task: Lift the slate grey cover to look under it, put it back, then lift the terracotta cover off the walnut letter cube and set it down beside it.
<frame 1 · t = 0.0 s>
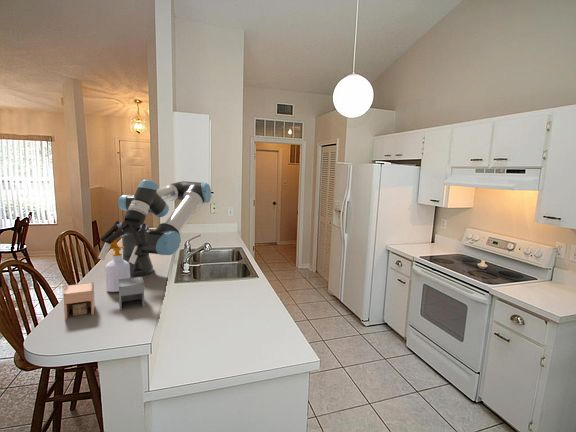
hand: (116, 261, 119), 15 cm above the table, tool tilted 35°, fingers open, 13 cm apart
soap bottle: (118, 289, 130), on the table, touching hand
terracotta cover: (80, 312, 109), on the table
letter cube: (80, 307, 109), in the terracotta cover
slate cover: (131, 304, 117), on the table
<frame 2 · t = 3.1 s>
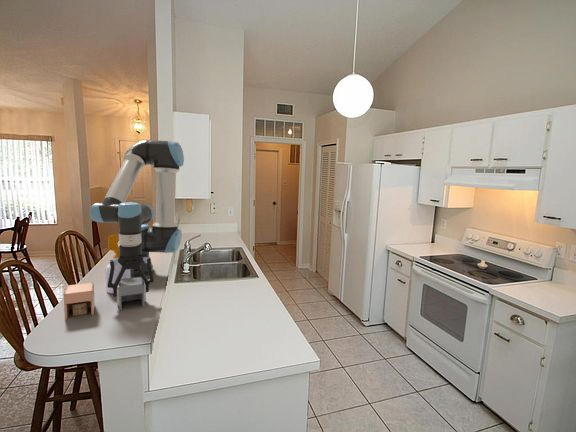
hand: (131, 302, 117), 1 cm above the table, tool pointing down, fingers closed on slate cover, 8 cm apart
soap bottle: (118, 290, 130), on the table
slate cover: (131, 304, 117), on the table, touching gripper
everything else where it was.
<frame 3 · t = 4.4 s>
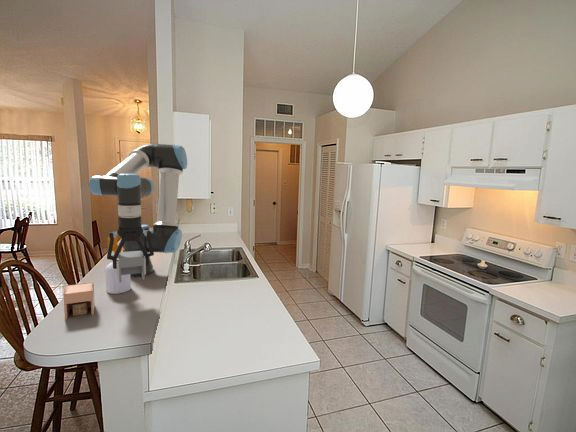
hand: (131, 275, 116), 11 cm above the table, tool pointing down, fingers closed on slate cover, 8 cm apart
slate cover: (131, 277, 116), point 11 cm above the table, touching gripper
everything else where it was.
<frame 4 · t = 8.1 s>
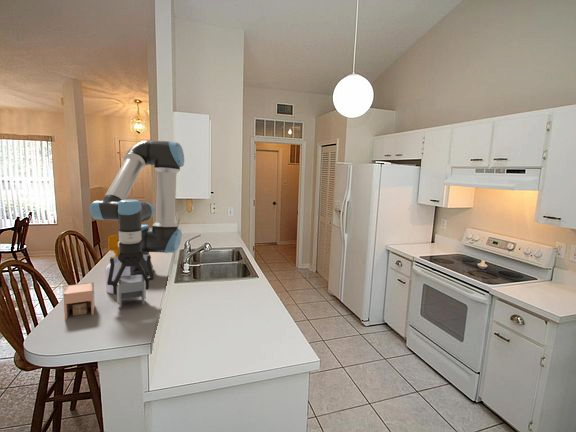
hand: (131, 299, 117), 2 cm above the table, tool pointing down, fingers closed on slate cover, 8 cm apart
slate cover: (131, 301, 117), point 1 cm above the table, touching gripper
everything else where it was.
when the fingers open (2 cm above the table, at t = 8.5 s): slate cover stays where it is, on the table.
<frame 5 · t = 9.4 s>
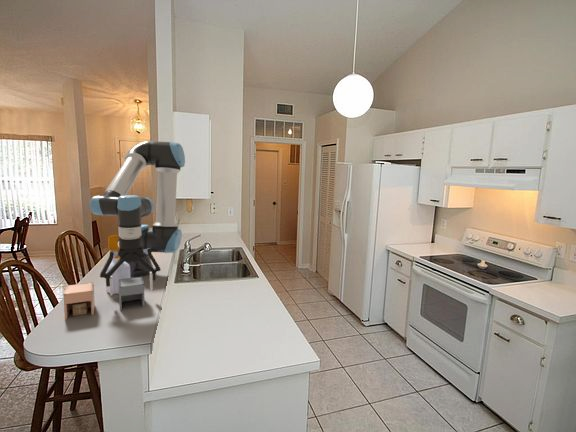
hand: (131, 291, 117), 5 cm above the table, tool pointing down, fingers open, 13 cm apart
slate cover: (131, 304, 117), on the table
everything else where it was.
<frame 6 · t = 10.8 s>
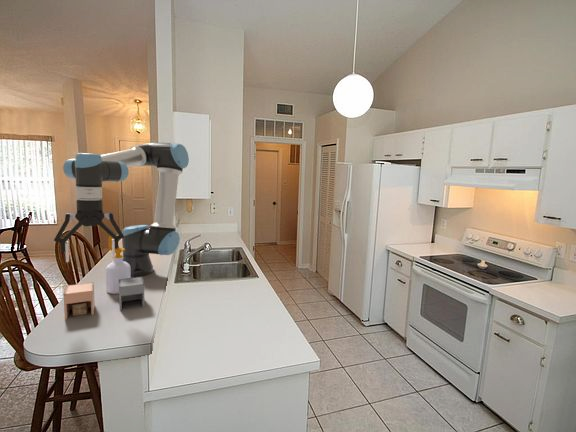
hand: (91, 259, 108), 19 cm above the table, tool pointing down, fingers open, 13 cm apart
nothing on the table moved.
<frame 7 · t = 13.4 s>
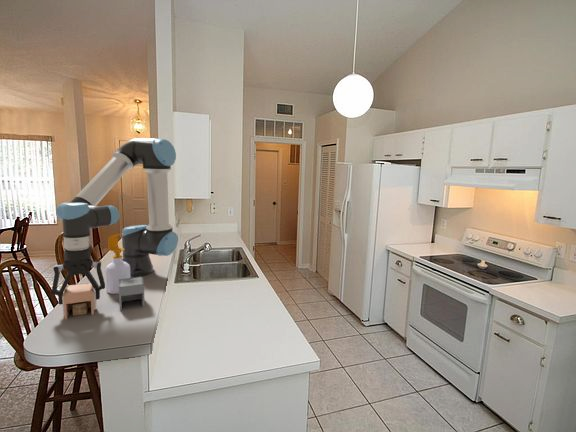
hand: (80, 309, 109), 1 cm above the table, tool pointing down, fingers closed on terracotta cover, 8 cm apart
terracotta cover: (80, 312, 109), on the table, touching gripper
everything else where it was.
when the fingers open (2 cm above the table, at t = 19.6 s): terracotta cover stays where it is, on the table.
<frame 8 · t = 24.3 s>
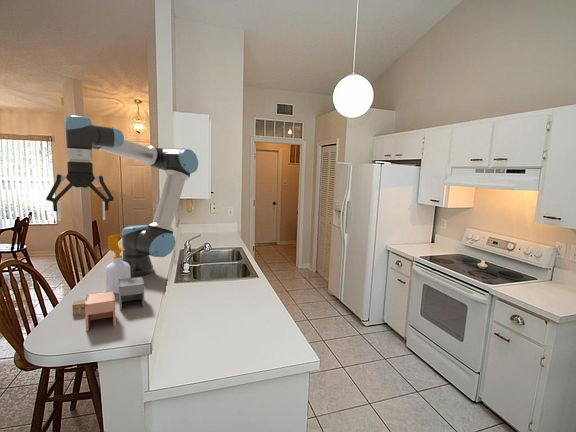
hand: (82, 220, 113), 32 cm above the table, tool pointing down, fingers open, 13 cm apart
terracotta cover: (101, 322, 103), on the table
everything else where it was.
at the end: terracotta cover moved 13.2 cm from its start; terracotta cover tilted 0°; letter cube moved 0.1 cm from its start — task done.
